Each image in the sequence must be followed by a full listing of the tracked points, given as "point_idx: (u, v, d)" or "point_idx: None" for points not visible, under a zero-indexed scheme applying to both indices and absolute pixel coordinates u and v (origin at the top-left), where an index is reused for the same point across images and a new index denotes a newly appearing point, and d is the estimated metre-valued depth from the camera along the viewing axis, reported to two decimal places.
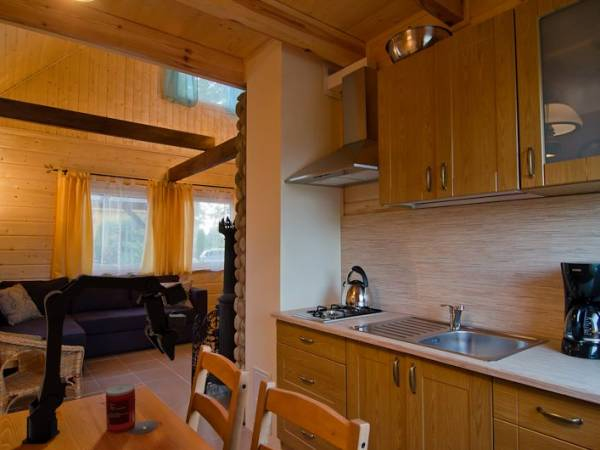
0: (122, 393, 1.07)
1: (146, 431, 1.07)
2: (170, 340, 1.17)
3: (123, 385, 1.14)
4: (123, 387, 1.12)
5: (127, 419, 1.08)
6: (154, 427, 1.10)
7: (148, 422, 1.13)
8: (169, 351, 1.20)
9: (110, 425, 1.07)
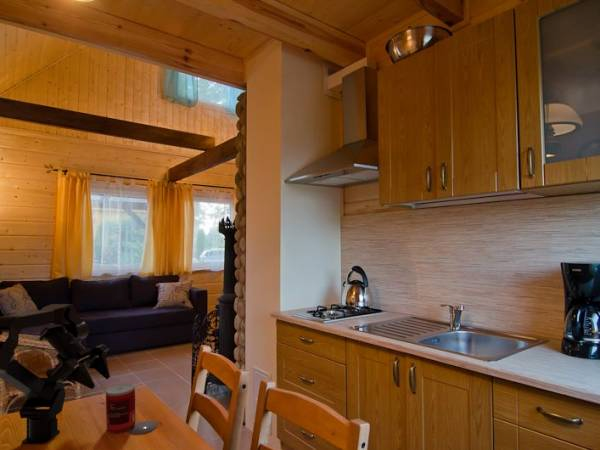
0: (122, 393, 1.07)
1: (146, 431, 1.07)
2: None
3: (123, 385, 1.14)
4: (123, 387, 1.12)
5: (127, 419, 1.08)
6: (154, 427, 1.10)
7: (148, 422, 1.13)
8: None
9: (110, 425, 1.07)
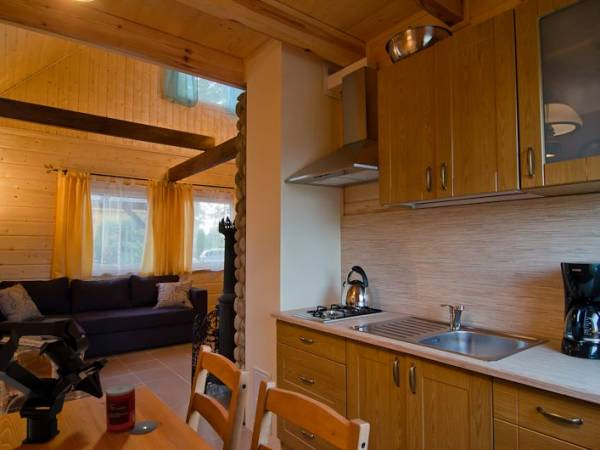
0: (122, 393, 1.07)
1: (146, 431, 1.07)
2: None
3: (123, 385, 1.14)
4: (123, 387, 1.12)
5: (127, 419, 1.08)
6: (154, 427, 1.10)
7: (148, 422, 1.13)
8: None
9: (110, 425, 1.07)
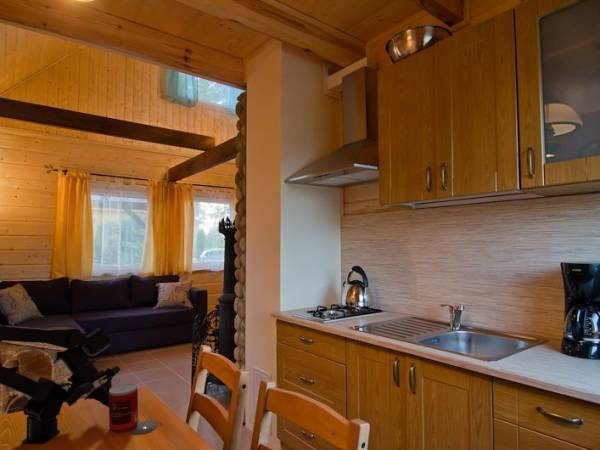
0: (124, 393, 1.07)
1: (146, 431, 1.07)
2: None
3: (126, 385, 1.14)
4: (126, 387, 1.12)
5: (129, 419, 1.08)
6: (154, 427, 1.10)
7: (148, 422, 1.13)
8: None
9: (112, 425, 1.07)
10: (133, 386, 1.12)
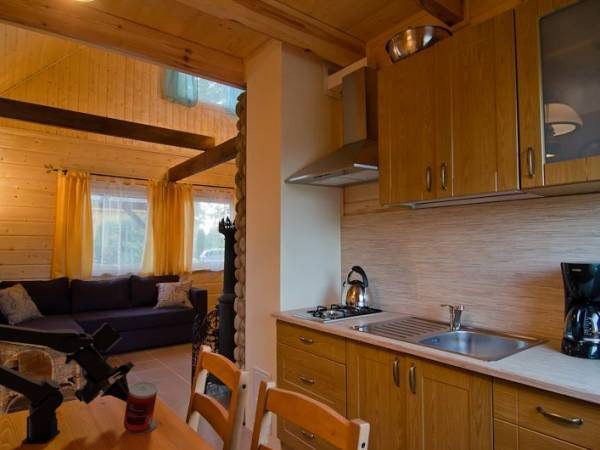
0: (143, 397, 1.05)
1: (146, 431, 1.07)
2: None
3: (147, 384, 1.11)
4: (146, 387, 1.10)
5: (143, 422, 1.06)
6: (154, 427, 1.10)
7: None
8: None
9: (126, 423, 1.06)
10: (153, 388, 1.10)
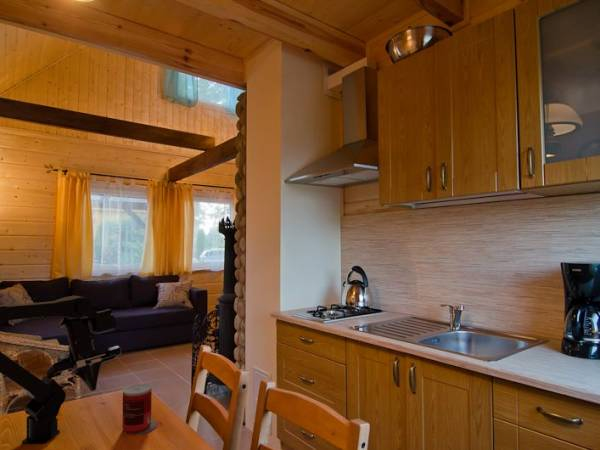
0: (137, 394, 1.06)
1: (146, 431, 1.07)
2: None
3: (141, 385, 1.13)
4: (140, 387, 1.11)
5: (142, 421, 1.07)
6: (154, 427, 1.10)
7: None
8: None
9: (125, 425, 1.06)
10: (147, 387, 1.11)
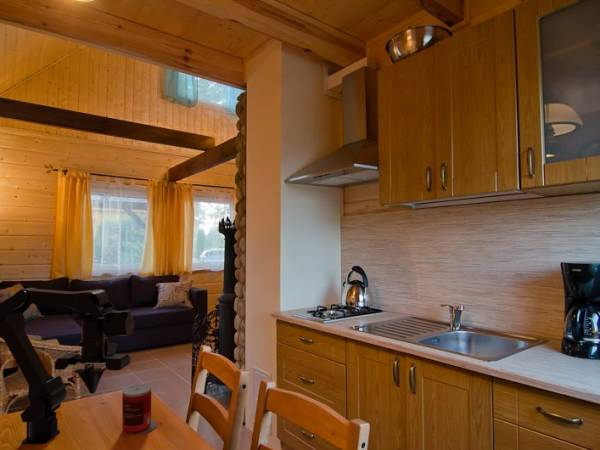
0: (137, 394, 1.06)
1: (146, 431, 1.07)
2: (125, 364, 1.05)
3: (141, 386, 1.13)
4: (140, 388, 1.11)
5: (141, 421, 1.07)
6: (154, 427, 1.10)
7: None
8: (96, 380, 1.05)
9: (125, 426, 1.06)
10: (147, 387, 1.11)
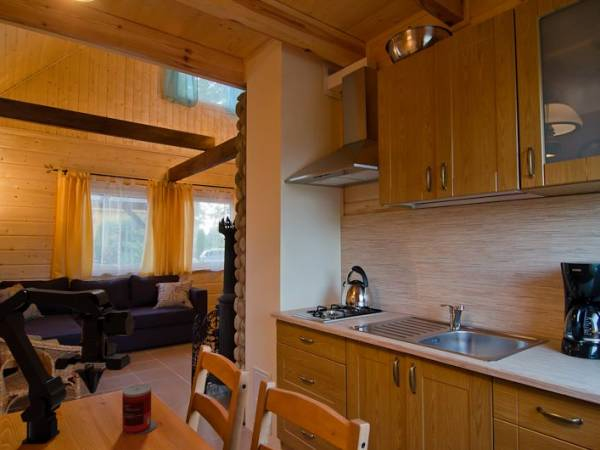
0: (137, 394, 1.06)
1: (146, 431, 1.07)
2: (125, 364, 1.05)
3: (141, 386, 1.13)
4: (140, 388, 1.11)
5: (141, 421, 1.07)
6: (154, 427, 1.10)
7: None
8: (96, 380, 1.05)
9: (125, 426, 1.06)
10: (147, 387, 1.11)
